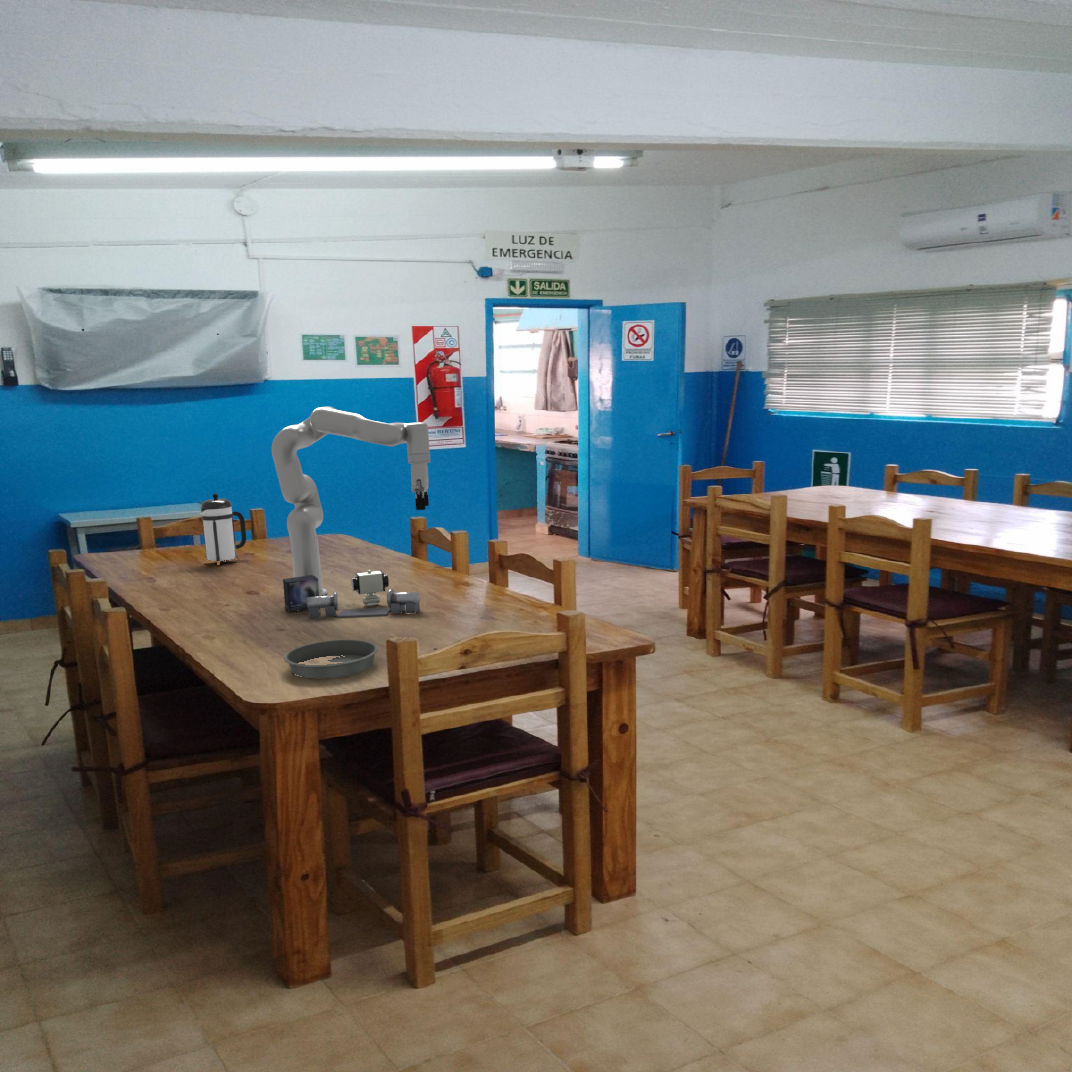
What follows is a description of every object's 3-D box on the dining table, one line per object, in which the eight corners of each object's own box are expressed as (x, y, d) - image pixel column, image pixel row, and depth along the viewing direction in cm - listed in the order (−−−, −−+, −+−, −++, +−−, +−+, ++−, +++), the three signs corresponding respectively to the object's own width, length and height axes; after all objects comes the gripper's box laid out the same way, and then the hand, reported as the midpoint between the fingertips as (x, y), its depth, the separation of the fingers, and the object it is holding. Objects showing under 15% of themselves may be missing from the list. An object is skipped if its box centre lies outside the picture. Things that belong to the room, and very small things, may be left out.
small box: (289, 613, 339) (286, 581, 338) (284, 609, 345) (281, 578, 343) (321, 608, 344) (318, 577, 342) (315, 604, 350) (313, 574, 348)
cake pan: (268, 681, 264) (267, 664, 264) (308, 654, 288) (307, 638, 287) (359, 682, 259) (357, 665, 258) (392, 655, 283) (391, 639, 282)
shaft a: (308, 619, 329) (306, 596, 328) (309, 614, 335) (307, 592, 334) (338, 616, 330) (336, 593, 329) (338, 612, 336) (336, 589, 335)
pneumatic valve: (390, 604, 344) (387, 569, 342) (355, 608, 340) (352, 573, 338) (387, 601, 349) (384, 566, 347) (352, 605, 345) (349, 570, 344)
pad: (337, 617, 329) (337, 616, 329) (343, 611, 338) (343, 609, 337) (386, 615, 328) (386, 613, 328) (391, 609, 337) (391, 607, 337)
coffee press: (236, 565, 432) (229, 494, 427) (199, 567, 433) (191, 496, 428) (248, 557, 449) (242, 489, 444) (212, 559, 450) (205, 491, 445)
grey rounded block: (388, 614, 330) (386, 591, 328) (394, 610, 335) (392, 587, 334) (416, 614, 328) (414, 591, 327) (421, 609, 334) (420, 587, 332)
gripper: (411, 456, 362) (414, 505, 365) (404, 461, 345) (408, 512, 348) (432, 455, 362) (436, 504, 365) (427, 460, 345) (430, 510, 348)
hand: (422, 507), depth 357 cm, fingers open, 9 cm apart
